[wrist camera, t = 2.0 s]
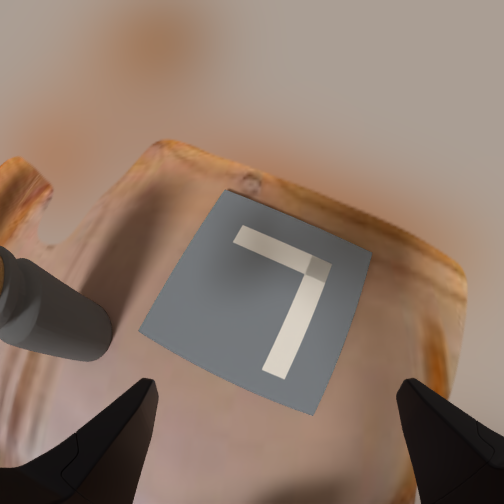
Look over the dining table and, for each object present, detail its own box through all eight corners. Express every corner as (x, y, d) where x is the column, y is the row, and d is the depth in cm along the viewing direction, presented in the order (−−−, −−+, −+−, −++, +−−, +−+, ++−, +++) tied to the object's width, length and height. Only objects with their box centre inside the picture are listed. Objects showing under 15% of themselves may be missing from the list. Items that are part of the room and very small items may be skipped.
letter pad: (369, 256, 26) (372, 252, 25) (310, 414, 19) (313, 415, 18) (225, 194, 28) (224, 189, 27) (141, 332, 22) (137, 331, 21)
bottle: (56, 342, 20) (-62, 295, 7) (78, 292, 23) (-26, 212, 9) (98, 373, 20) (-33, 349, 6) (122, 318, 22) (8, 243, 9)
